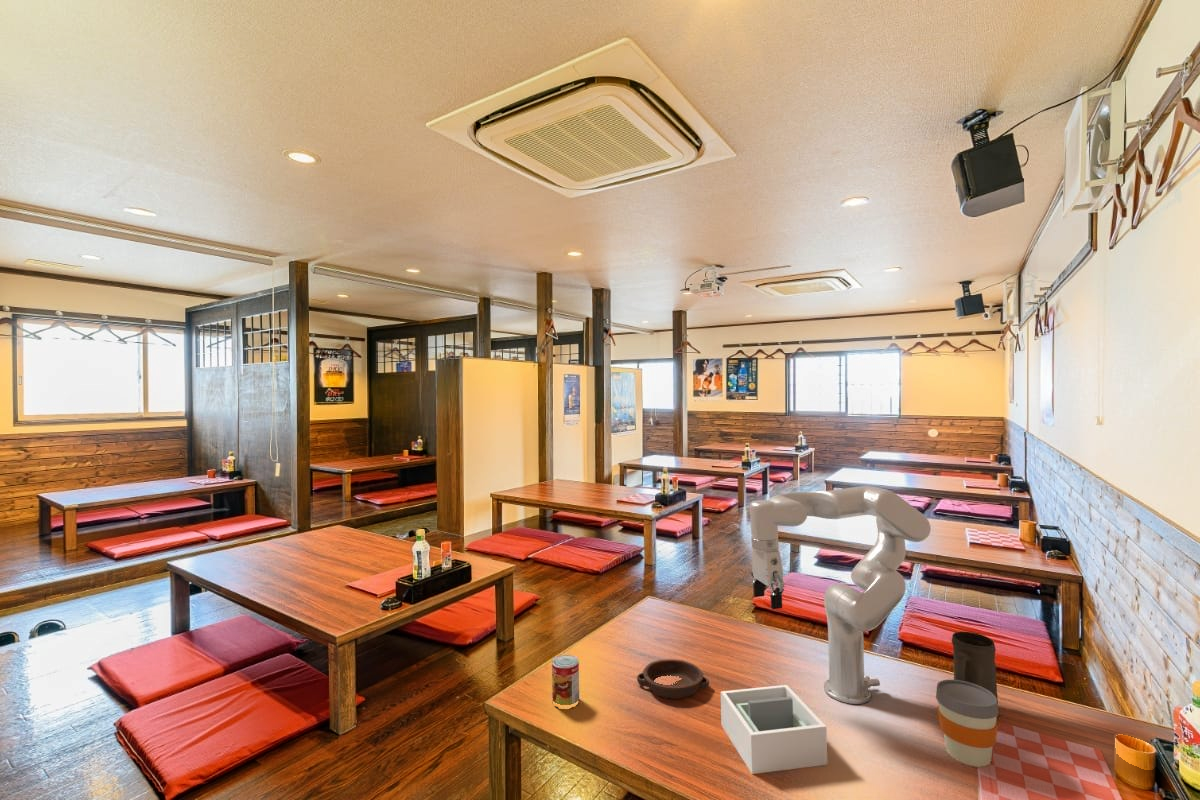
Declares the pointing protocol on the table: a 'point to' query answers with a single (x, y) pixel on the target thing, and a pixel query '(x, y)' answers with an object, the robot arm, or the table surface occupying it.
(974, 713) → the reusable coffee cup
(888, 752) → the table surface
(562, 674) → the canned food
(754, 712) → the small crate
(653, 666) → the dish
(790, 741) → the big crate
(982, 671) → the beer stein
